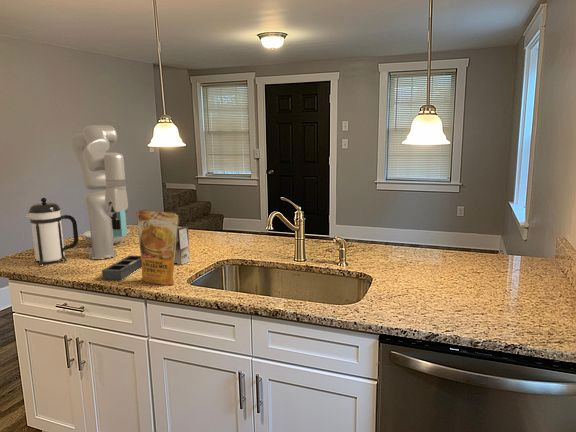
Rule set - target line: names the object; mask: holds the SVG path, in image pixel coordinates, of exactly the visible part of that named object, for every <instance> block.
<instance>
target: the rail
mask: <svg viewBox="0 0 576 432" xmlns="http://www.w3.org/2000/svg"><path fill="white" fill-rule="evenodd" d="M141 267H142V261H141V255H127V256H125V257H123V258H122V259H119V260H117V261H116V262H114V263H112V264H111V265H109V266H107V267H106V268H104V269H102V270H101V273H102V274H101V276H102V280H103V279H105V280H104V281H123V280H124V278H125V277H126V278H127V276H128V275H129V276H130V274H131V273H132V274H134V273H135V272H134V271H136V270H137V269H139V268H140V269H142V268H141ZM140 269H139V270H140ZM137 271H138V270H137ZM137 271H136V272H137ZM133 272H134V273H133ZM132 274H131V275H132ZM129 276H128V277H129ZM126 278H125V279H126ZM122 279H123V280H122Z"/></svg>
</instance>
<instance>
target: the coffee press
mask: <svg viewBox="0 0 576 432" xmlns="http://www.w3.org/2000/svg"><path fill="white" fill-rule="evenodd" d="M61 211H62V207H60V205H59V204H58V203H56V202H47V198H46V197H41V199H40V202H39V203H35V204H32V205H31V206H30V207H29V209H28V212H27V213H26V216H25V218H29V221H30V225H31V235H32V241H33V249H34V257H35V259H34V261H35V260H37V261H39V262H38V266H39V265H42V264H44V265H45V264H46V263H51V262H56V261H57V262H58V261H60V262H61V261H64V262H65V261H66V262H67V258H66V257H65V256H66V255H65V253H66V252H65V251H67V250H70V249H73V248H76V246H77V245H78V242H79V232H78V225H77V221H76V218H75V217H74V216H72V215H69V214H64V215H61ZM62 220H70V222H71V224H72V231H73V232H72V234H73V242H72V243H71V244H67V245H65V244H64V243H65V242H64V237H63V236H64V235H63V227H62V226H63V225H62Z"/></svg>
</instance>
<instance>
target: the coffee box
mask: <svg viewBox="0 0 576 432" xmlns="http://www.w3.org/2000/svg"><path fill="white" fill-rule="evenodd" d="M189 236H190V235H189V227H187V226H179V225H178V232H177V243H176V252H175V261H174V263H177V264H176V265H179V264H183V265H185V264H184V263H186V264H188V263H190V262H191V256H190V255H191V252H190V238H189ZM189 261H190V262H189ZM187 262H188V263H187Z"/></svg>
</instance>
